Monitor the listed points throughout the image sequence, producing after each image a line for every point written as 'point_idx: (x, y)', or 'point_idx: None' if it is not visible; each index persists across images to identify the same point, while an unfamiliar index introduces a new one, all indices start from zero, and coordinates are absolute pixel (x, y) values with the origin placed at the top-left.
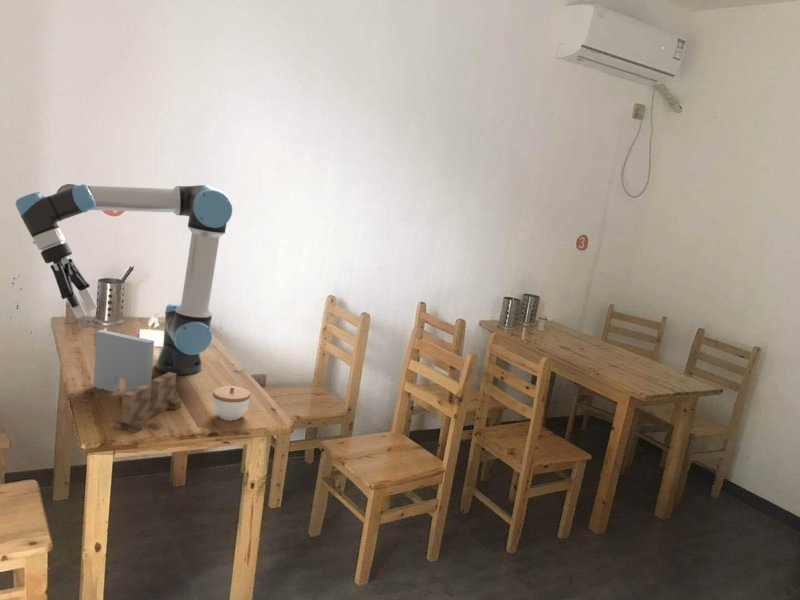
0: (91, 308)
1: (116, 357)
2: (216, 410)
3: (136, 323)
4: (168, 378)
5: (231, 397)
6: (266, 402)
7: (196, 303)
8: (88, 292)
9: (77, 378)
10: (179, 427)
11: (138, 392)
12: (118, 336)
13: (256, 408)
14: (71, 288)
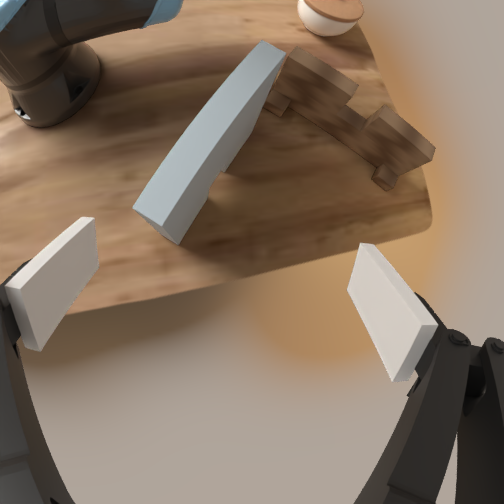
0: (93, 249)
1: (213, 168)
2: (342, 33)
3: None
4: (325, 64)
5: (359, 5)
6: None
7: None
8: (40, 272)
9: (120, 289)
10: (372, 93)
11: (416, 131)
12: (220, 137)
13: None
14: (465, 366)
